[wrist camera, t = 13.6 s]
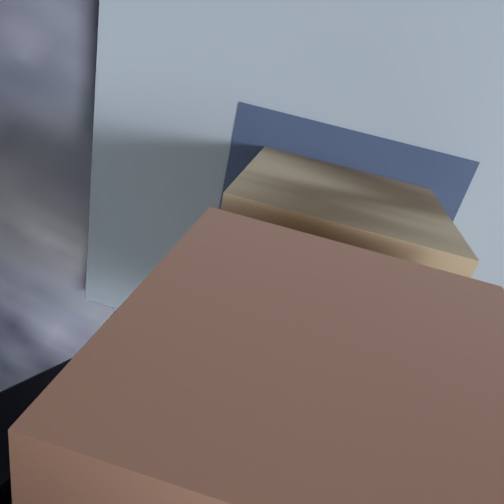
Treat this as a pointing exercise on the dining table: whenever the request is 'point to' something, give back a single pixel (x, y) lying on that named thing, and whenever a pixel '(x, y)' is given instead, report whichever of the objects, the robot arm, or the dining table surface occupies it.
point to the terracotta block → (276, 382)
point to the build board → (288, 113)
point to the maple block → (350, 209)
